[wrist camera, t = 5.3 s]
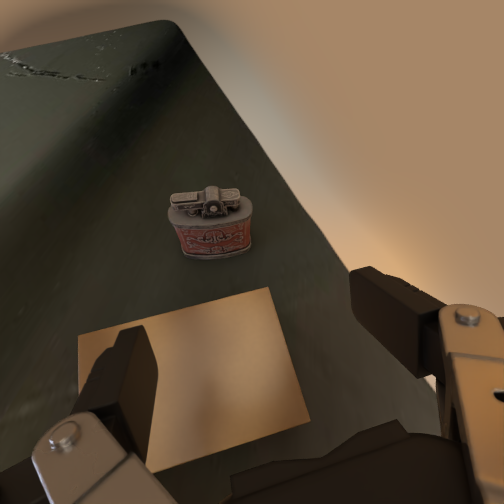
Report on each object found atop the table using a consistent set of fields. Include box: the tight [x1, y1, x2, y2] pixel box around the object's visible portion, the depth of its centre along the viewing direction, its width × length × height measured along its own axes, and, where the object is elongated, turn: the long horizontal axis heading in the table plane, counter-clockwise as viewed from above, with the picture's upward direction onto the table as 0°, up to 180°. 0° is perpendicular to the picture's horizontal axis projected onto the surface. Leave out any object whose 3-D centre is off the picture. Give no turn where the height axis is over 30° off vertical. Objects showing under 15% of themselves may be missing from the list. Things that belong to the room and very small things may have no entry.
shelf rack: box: [78, 287, 310, 474], centre depth 25 cm, size 15×10×8 cm, turn 105°
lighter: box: [168, 186, 252, 260], centre depth 30 cm, size 8×3×10 cm, turn 97°
